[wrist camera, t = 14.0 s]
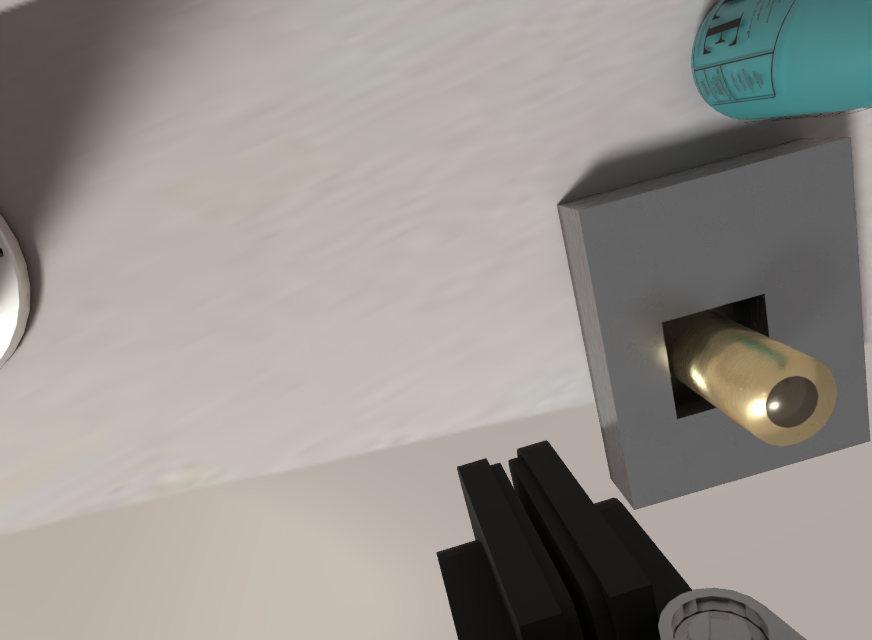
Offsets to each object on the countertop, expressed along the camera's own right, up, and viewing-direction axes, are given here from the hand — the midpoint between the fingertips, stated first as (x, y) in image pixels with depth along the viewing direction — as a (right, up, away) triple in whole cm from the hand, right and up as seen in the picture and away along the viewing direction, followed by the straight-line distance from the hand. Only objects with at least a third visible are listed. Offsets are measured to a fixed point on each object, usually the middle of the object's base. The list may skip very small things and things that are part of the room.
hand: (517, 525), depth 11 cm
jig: (+14, +4, +25) cm, 29 cm away
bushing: (+13, +2, +25) cm, 28 cm away
